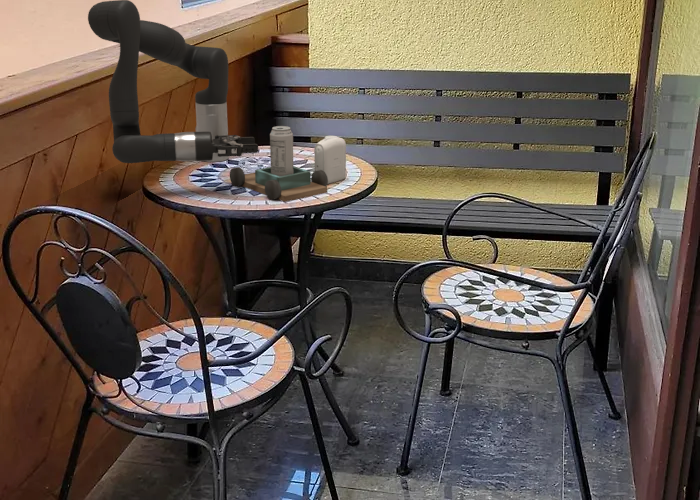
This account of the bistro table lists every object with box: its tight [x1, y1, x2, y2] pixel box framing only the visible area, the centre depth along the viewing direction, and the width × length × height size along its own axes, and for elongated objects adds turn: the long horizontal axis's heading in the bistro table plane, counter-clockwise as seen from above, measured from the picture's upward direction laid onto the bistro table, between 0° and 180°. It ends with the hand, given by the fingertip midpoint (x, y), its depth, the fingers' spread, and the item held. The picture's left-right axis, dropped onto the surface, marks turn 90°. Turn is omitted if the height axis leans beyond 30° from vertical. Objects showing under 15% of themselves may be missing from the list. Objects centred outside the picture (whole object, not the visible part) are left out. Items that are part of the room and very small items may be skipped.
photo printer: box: [313, 136, 347, 185], centre depth 223 cm, size 10×4×12 cm, turn 140°
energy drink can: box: [269, 125, 294, 177], centre depth 214 cm, size 6×6×15 cm
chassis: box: [229, 165, 328, 203], centre depth 218 cm, size 24×17×5 cm
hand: (256, 144), depth 212 cm, fingers open, 8 cm apart
